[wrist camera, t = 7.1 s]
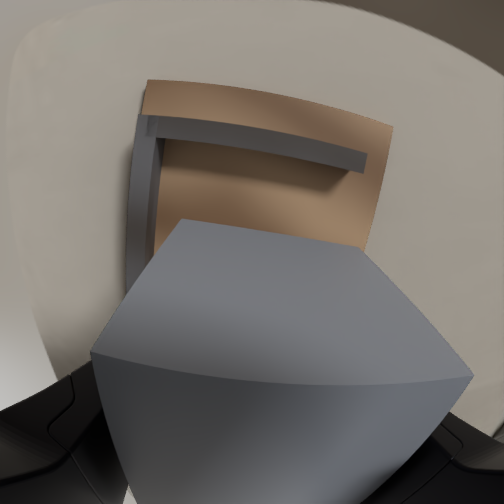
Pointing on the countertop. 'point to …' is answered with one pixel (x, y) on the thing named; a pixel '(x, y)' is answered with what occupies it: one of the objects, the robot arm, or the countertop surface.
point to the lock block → (268, 372)
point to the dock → (250, 167)
